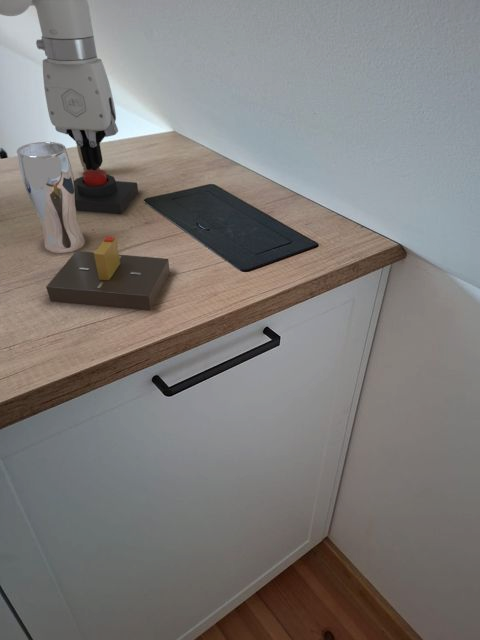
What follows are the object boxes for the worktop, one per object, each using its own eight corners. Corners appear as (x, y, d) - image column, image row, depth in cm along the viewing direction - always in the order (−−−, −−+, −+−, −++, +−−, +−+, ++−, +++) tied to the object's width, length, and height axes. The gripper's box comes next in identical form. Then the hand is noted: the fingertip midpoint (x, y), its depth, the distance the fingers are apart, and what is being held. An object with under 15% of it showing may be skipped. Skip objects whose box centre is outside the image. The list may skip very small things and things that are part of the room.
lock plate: (50, 302, 67) (45, 285, 65) (79, 265, 74) (75, 249, 72) (150, 311, 66) (148, 294, 64) (170, 273, 73) (168, 257, 72)
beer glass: (35, 242, 79) (7, 146, 70) (76, 230, 83) (55, 138, 73) (52, 259, 75) (25, 160, 66) (95, 246, 79) (75, 151, 69)
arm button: (81, 185, 88) (79, 176, 87) (89, 177, 92) (87, 168, 90) (102, 187, 88) (100, 178, 87) (110, 179, 91) (108, 170, 90)
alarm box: (57, 210, 89) (52, 188, 86) (79, 189, 96) (75, 168, 94) (121, 215, 88) (118, 193, 85) (138, 193, 96) (135, 173, 93)
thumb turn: (109, 280, 66) (103, 252, 64) (99, 279, 67) (93, 251, 64) (120, 263, 70) (115, 236, 67) (111, 262, 70) (105, 235, 67)
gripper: (13, 51, 74) (45, 172, 86) (108, 56, 73) (127, 178, 85) (36, 43, 80) (63, 158, 92) (125, 47, 79) (140, 163, 91)
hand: (94, 167), depth 88 cm, fingers closed
